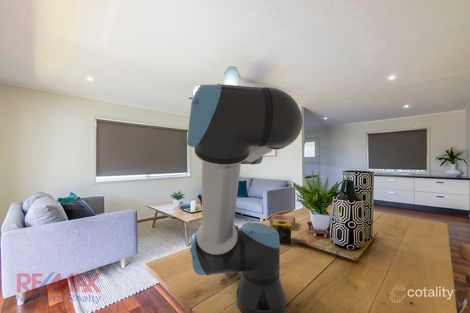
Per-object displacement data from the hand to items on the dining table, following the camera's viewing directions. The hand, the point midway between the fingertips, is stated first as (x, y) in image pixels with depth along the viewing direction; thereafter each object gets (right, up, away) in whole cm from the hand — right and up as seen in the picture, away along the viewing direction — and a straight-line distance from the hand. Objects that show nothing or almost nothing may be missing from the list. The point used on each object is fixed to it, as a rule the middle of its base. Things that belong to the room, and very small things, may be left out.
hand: (212, 233), depth 87 cm
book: (+41, -13, +49) cm, 65 cm away
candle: (+34, -13, +24) cm, 44 cm away
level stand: (0, -13, +15) cm, 19 cm away
